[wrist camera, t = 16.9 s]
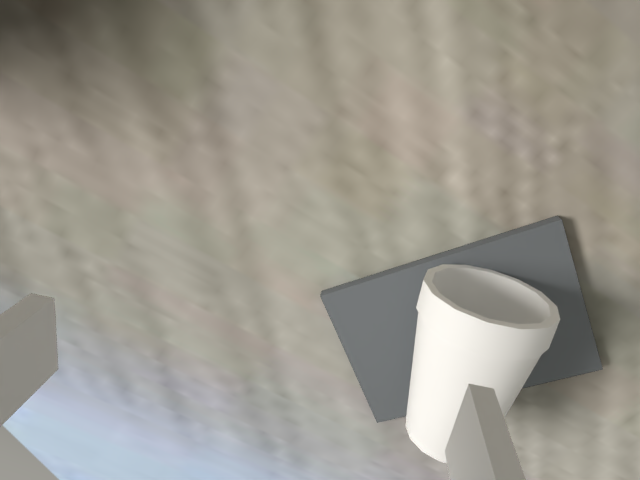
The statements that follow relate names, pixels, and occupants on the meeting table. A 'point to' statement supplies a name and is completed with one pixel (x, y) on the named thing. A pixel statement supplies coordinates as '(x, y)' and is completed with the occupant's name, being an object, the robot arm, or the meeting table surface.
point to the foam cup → (472, 345)
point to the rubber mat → (401, 314)
